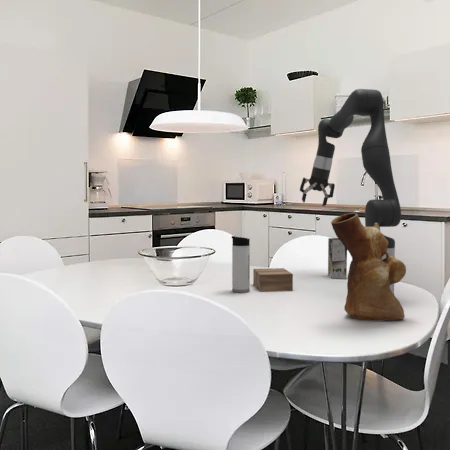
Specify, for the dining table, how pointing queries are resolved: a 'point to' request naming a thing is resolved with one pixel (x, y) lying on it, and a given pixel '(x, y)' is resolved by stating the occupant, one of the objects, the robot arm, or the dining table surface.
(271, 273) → the walnut block
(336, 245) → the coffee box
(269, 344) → the dining table surface
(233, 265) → the travel mug
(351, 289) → the ceramic vessel
